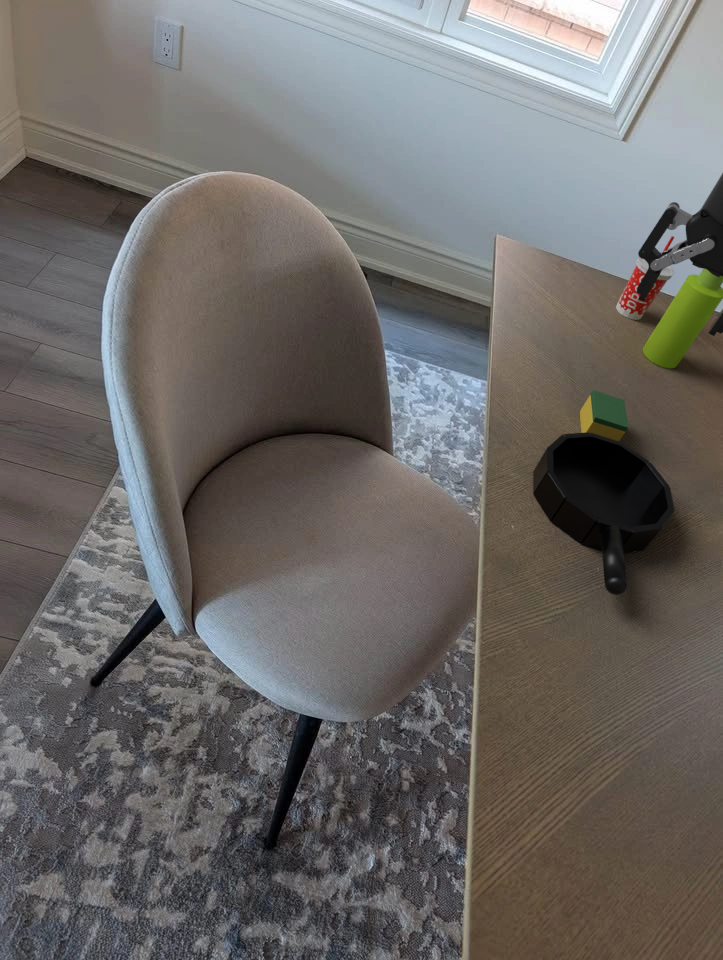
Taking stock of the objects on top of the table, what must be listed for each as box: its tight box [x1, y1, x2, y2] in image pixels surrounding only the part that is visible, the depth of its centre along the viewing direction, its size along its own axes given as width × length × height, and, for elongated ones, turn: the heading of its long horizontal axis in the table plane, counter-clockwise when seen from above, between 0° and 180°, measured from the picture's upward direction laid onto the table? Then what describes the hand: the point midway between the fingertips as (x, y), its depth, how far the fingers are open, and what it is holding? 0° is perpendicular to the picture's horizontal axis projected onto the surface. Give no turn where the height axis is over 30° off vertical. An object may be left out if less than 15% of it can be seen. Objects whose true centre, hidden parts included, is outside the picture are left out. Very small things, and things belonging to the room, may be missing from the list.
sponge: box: [579, 389, 629, 442], centre depth 99 cm, size 6×4×4 cm
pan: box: [532, 432, 675, 596], centre depth 86 cm, size 24×16×4 cm, turn 170°
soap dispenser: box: [642, 268, 723, 369], centre depth 112 cm, size 6×7×20 cm
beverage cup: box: [615, 235, 675, 321], centre depth 122 cm, size 6×6×14 cm
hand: (676, 314), depth 85 cm, fingers open, 8 cm apart
